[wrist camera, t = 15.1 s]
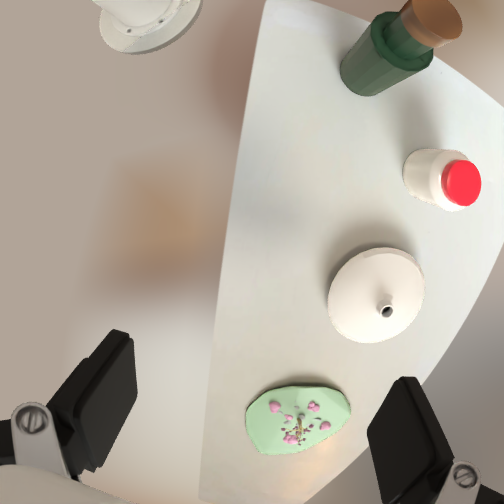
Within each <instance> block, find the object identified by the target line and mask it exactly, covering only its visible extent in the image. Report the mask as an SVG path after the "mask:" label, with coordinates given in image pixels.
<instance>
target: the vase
mask: <svg viewBox="0 0 504 504" xmlns="http://www.w3.org/2000/svg"><path fill="white" fill-rule="evenodd" d="M424 294H425V280H424V275H423V272H422V270H421V268H420V265H419V264H418V263H417V262H416V261H415V259H414V258H413V257H412V256H410V255H409V254H407V253H405V252H404V251H402V250H398V249H394V248H390V247H386V248H373V249H370V250H367V251H364V252H361V253H359V254H358V255H356V256H355V257H353V258H351V259H350V260H349V261H348V262H347V263H346V264H345V265H344V266H343V267H342V268H341V269H340V270H339V272H338V273H337V275H336V277H335V278H334V280H333V282H332V284H331V288H330V291H329V294H328V313H329V317H330V320H331V322H332V324H333V325H334V327H335V328H336V330H337V331H338V332H340V333H341V334H342V335H343V336H344V337H346V338H348V339H351V340H353V341H356V342H362V343H373V342H381V341H383V340H386V339H389V338H392V337H394V336H395V335H397V334H398V333H400V332H402V331H403V330H404V329H405V328H406V327H407V326H408V325H409V324H410V323H411V322H412V321H413V319H414V318H415V316H416V315H417V313H418V312H419V310H420V307H421V305H422V302H423V300H424Z"/></svg>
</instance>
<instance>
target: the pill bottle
mask: <svg viewBox="0 0 504 504" xmlns="http://www.w3.org/2000/svg"><path fill="white" fill-rule="evenodd" d="M403 180H404V183H405V186H406V188H407V190H408V191H409V193H410V194H411V195H412V196H413V197H415V198H417V199H419V200H421V201H424V202H427V203H429V204H432V205H434V206H437V207H439V208H442V209H444V210H448V211H458V210H461V209H463V208H464V207H465V206H469V205H471V204H472V203H474V202H475V201H476V199H477V198H478V196H479V193H480V190H481V177H480V174H479V171H478V169H477V168H476V166H475V165H474V164H473V163H471V162H470V160H469V159H468V158H467V157H466V156H465V155H464V154H463V153H461V152H459V151H456V150H447V149H419V150H416V151H414V152H413V153H411V154H410V155H409V157H408V158H407V160H406V161H405V164H404V168H403Z"/></svg>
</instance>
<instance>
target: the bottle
mask: <svg viewBox="0 0 504 504" xmlns="http://www.w3.org/2000/svg"><path fill="white" fill-rule="evenodd" d="M401 10H402V9H401ZM401 10H400V11H399V12H384V13H382V14H379V15H377V16H376V17H375V19H374V20H373V21H372V23H371V24H370V25H369V26H368V28H367V29H366V30H365V32H364V33H363V34H362V36H361V37H360V38H359V40H358V41H357V42H356V43H355V45H354V46H353V47H352V49H351V50H350V51H349V53H348V54H347V55H346V57H345V58H344V60H343V61H342V63H341V67H340V74H341V78H342V80H343V82H344V84H345V85H346V86H347V87H348V88H349V89H350V90H351V91H352V92H354V93H356V94H358V95H361V96H373V95H376V94H378V93H380V92H382V91H383V90H385V89H387V88H389V87H391V86H393V85H395V84H396V83H398V82H400V81H402V80H404V79H406V78H408V77H410V76H412V75H414V74H416V73H417V72H419V71H421V70H423V69H425V68H427V67H428V66H429V64H430V63H431V61H432V59H433V48H434V47H429V46H426V45H424V44H422V43H420V42H418V41H417V40H416V39H414V38H413V37H412V36H411V35H410V34H409V32H408V31H407V30H406V28H405V26H404V24H403V22H402V19H401Z"/></svg>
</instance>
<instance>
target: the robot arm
mask: <svg viewBox="0 0 504 504" xmlns="http://www.w3.org/2000/svg"><path fill="white" fill-rule="evenodd" d="M91 1H93V2H94V3H96V4H97V5H99V6H100V7H102V8H103V9H104V10H106V11H107V12H109V13H110V14H111V20H112V24H113V26H114V27H115V28H116V29H117V30H118V31H119V32H120V33H122V34H124V35H127V36H133V37H136V36H144V35H148V34H151V33H153V32H155V31H157V30H159V29H161V28H162V27H164V26H165V25H167V24H168V23H169V22H170V21H171V20H172V19H173V18H174V17H175V16H176V14H177V13H178V11H179V10H180V8H181V5H182V3H183V0H91ZM137 393H138V392H137V381H136V369H135V356H134V341H133V339H132V338H130V337H129V334H128V333H126V332H122V331H119V330H115V329H113V330H111V331H110V332H109V334H108V335H107V336H106V337H105V338H104V340H103V341H102V342H101V343H100V345H99V346H98V347H97V348H96V349H95V350H94V352H93V353H92V354H91V355H90V356H89V358H85V359H83V360H82V361H81V362H80V363H79V365H78V366H77V367H76V368H75V369H74V371H73V372H72V373H71V375H70V376H69V377H68V378H67V379H66V381H65V382H64V383H63V384H62V386H61V387H60V388H59V390H58V391H57V392H56V393H55V394H54V396H53V397H52V398H51V400H50V401H49V402H48V403H47V405H46V406H44V405H42V404H40V403H37V402H27V403H23V404H21V405H19V406H18V407H17V408H16V409H15V410H14V411H13V413H12V415H11V419H9V420H2V421H0V504H137V503H134V502H131V501H128V500H124V499H122V498H119V497H116V496H113V495H110V494H108V493H105V492H103V491H100V490H98V489H95V488H93V487H90V486H87V485H85V484H83V483H82V481H81V478H80V474H82V471H83V470H84V469H86V470H88V471H91V472H93V473H94V472H95V470H96V468H97V467H99V468H100V467H102V466H103V464H104V462H105V460H106V458H107V456H108V454H109V452H110V450H111V448H112V446H113V444H114V442H115V440H116V438H117V436H118V434H119V432H120V430H121V428H122V426H123V424H124V422H125V420H126V418H127V416H128V414H129V413H130V410H131V409H132V407H133V405H134V403H135V401H136V398H137ZM367 437H368V441H369V446H370V449H371V454H372V458H373V462H374V467H375V471H376V476H377V480H378V485H379V489H380V494H381V499H382V503H383V504H504V495H502V494H500V493H498V492H496V491H494V490H492V489H489V488H488V487H486V486H484V485H482V484H480V483H481V474H480V471H479V469H478V468H477V467H476V466H475V465H474V464H472V463H471V462H468V461H458V462H456V463H455V464H454V463H453V461H452V460H453V459H454V458H455V457H454V455H453V453H452V451H451V448H450V446H449V444H448V441H447V439H446V437H445V435H444V433H443V431H442V428H441V426H440V424H439V422H438V420H437V418H436V416H435V414H434V411H433V409H432V407H431V405H430V403H429V401H428V399H427V397H426V395H425V393H424V391H423V389H422V387H421V385H420V383H419V382H418V380H417V378H416V377H404V376H402V377H400V378H399V379H398V380H396V381H395V382H394V383H393V385H392V387H391V389H390V391H389V393H388V394H387V396H386V398H385V400H384V401H383V403H382V405H381V407H380V408H379V410H378V412H377V413H376V415H375V417H374V418H373V420H372V421H371V423H370V425H369V426H368V429H367Z"/></svg>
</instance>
